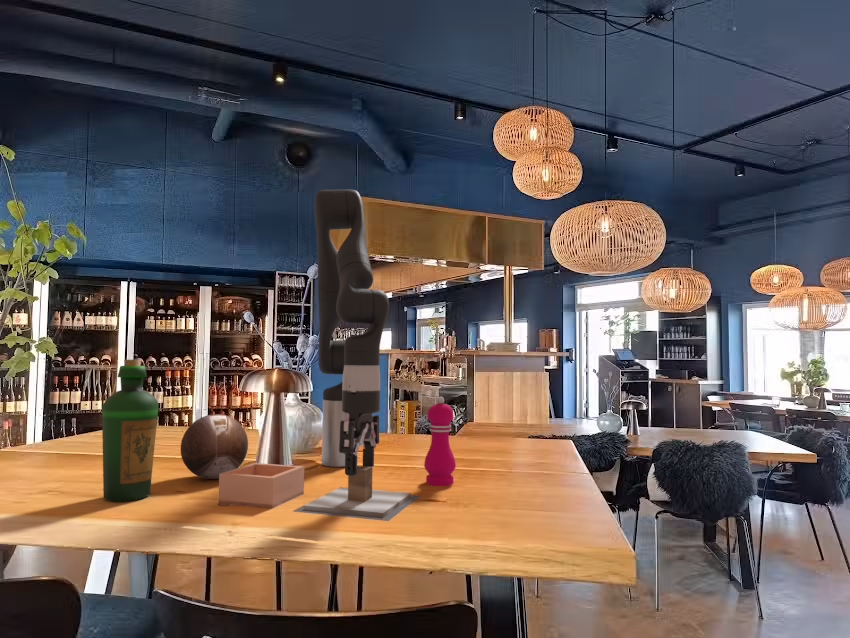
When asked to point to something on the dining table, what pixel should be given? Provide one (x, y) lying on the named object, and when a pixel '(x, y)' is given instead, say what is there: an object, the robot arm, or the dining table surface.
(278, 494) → the pink storage bin
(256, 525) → the dining table surface
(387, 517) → the mat
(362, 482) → the lid
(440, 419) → the pepper mill
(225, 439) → the brown ball
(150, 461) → the bottle
